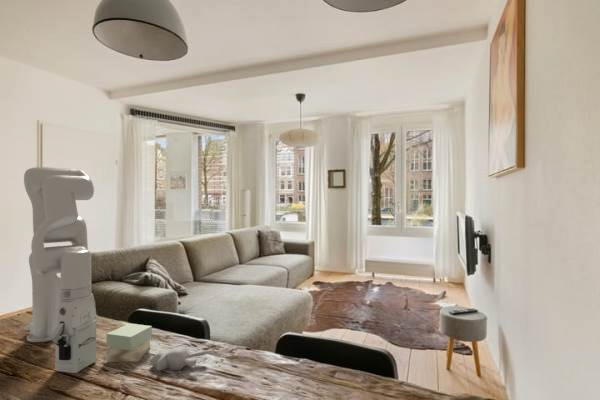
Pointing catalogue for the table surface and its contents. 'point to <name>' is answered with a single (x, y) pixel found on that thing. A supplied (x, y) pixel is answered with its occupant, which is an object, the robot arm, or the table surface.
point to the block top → (129, 336)
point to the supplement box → (79, 349)
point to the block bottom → (127, 353)
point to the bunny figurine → (175, 358)
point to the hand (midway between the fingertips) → (76, 352)
